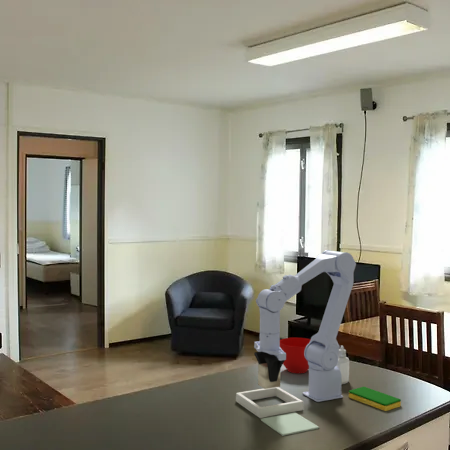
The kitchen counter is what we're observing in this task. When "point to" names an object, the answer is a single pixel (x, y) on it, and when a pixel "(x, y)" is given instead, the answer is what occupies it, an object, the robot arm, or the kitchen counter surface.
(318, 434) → the kitchen counter surface
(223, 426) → the kitchen counter surface
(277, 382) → the birch block
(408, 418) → the kitchen counter surface
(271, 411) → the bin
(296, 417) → the pad
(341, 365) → the eye dropper bottle
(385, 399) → the dish sponge
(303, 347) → the ceramic cup
